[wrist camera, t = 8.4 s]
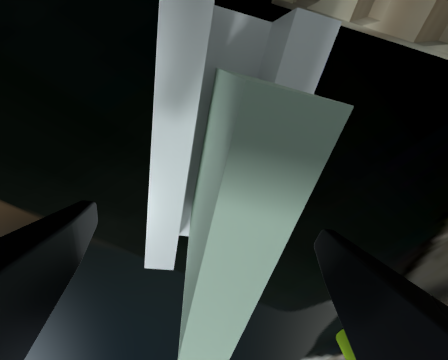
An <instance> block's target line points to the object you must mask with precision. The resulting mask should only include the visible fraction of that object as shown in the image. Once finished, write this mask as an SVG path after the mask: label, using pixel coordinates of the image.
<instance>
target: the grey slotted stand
mask: <svg viewBox="0 0 448 360" xmlns="http://www.w3.org/2000/svg"><path fill="white" fill-rule="evenodd" d="M214 2H215V0H159V16H158V34H157V52H156V70H155V88H154V106H153V124H152V142H151V160H150V178H149V196H148V214H147V232H146V250H145V268H152V269H166V270H173V269H174V262H175V256H176V249H177V243H178V236H179V235H182V236H189V230H190V219H191V208H192V202H193V196H194V190H195V185H196V179H197V173H198V168H199V162H200V156H201V151H202V145H203V139H204V134H205V128H206V123H207V117H208V111H209V106H210V100H211V94H212V89H213V83H214V77H215V72H216V68H219V69H223V70H227V71H231V72H235V73H239V74H243V75H248V76H251V77H255V78H258V79H262V80H265V81H269V82H272V83H276V84H279V85H282V86H286V87H289V88H293V89H296V90H300V91H303V92H307V93H310V94H314V92H315V89H316V87H317V84H318V81H319V79H320V76H321V74H322V71H323V69H324V66H325V64H326V61H327V59H328V56H329V53H330V51H331V48H332V46H333V43H334V41H335V38H336V36H337V33H338V31H339V28H340V26H341V23H342V21H339V20H335V19H332V18H329V17H326V16H323V15H320V14H317V13H314V12H311V11H308V10H304V9H301V8H298V7H297V8H295V9H294V10H292V11H290V12H289V13H287V14H285V15H284V16H282V17H280V18H279V19H277V20H275V21H274V22H269V21H266V20H263V19H259V18H256V17H253V16H249V15H246V14H243V13H239V12H236V11H233V10H229V9H226V8H223V7H219V6H216V5H214Z"/></svg>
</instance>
